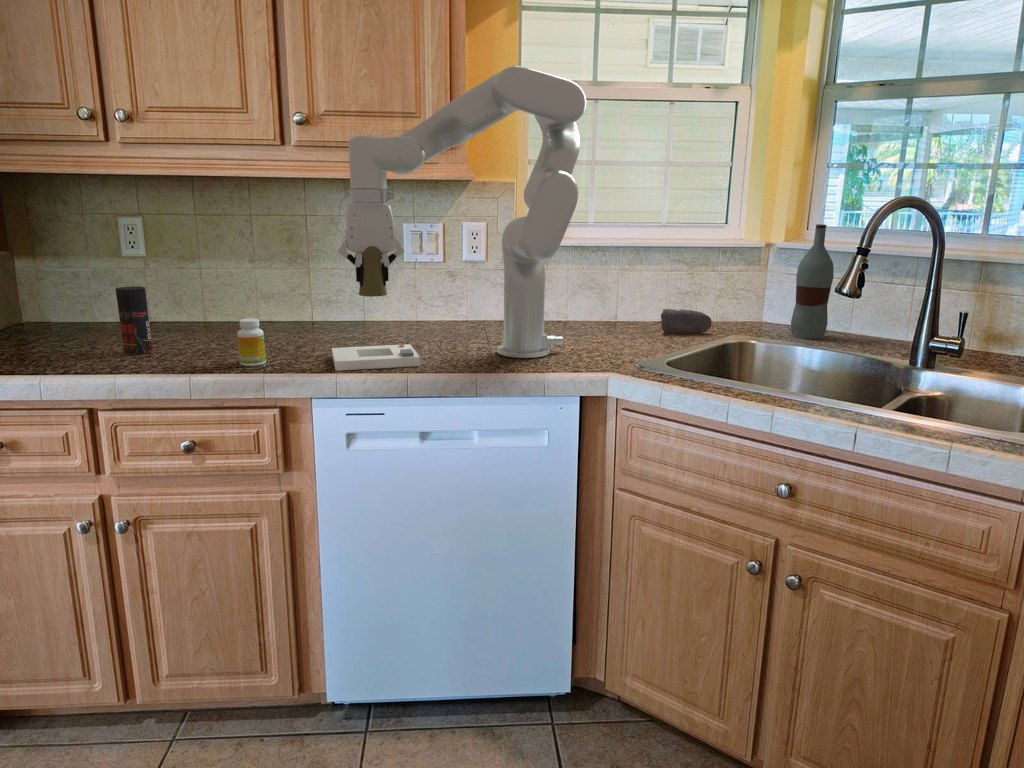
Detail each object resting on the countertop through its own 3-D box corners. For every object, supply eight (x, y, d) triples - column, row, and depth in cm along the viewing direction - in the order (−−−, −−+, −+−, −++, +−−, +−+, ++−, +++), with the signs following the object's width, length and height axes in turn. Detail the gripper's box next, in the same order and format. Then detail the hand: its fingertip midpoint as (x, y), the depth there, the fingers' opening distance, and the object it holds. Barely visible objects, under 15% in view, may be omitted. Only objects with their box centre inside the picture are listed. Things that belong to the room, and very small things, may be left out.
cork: (374, 292, 155) (372, 242, 152) (392, 294, 152) (391, 243, 149) (353, 294, 151) (350, 243, 148) (371, 297, 147) (369, 244, 144)
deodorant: (125, 350, 162) (116, 287, 158) (153, 349, 165) (146, 286, 161) (123, 356, 157) (113, 290, 153) (152, 354, 159) (144, 289, 155)
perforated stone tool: (707, 332, 195) (709, 307, 193) (714, 335, 189) (716, 310, 188) (655, 332, 193) (657, 307, 192) (660, 336, 188) (662, 310, 187)
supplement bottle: (266, 365, 150) (262, 321, 147) (239, 367, 148) (235, 322, 146) (265, 360, 155) (262, 317, 152) (240, 361, 153) (236, 318, 150)
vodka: (833, 339, 186) (848, 225, 179) (806, 341, 183) (820, 225, 176) (808, 332, 195) (822, 223, 187) (781, 334, 192) (794, 223, 184)
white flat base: (410, 352, 164) (409, 340, 163) (420, 365, 151) (419, 353, 150) (332, 356, 159) (331, 344, 158) (335, 370, 146) (334, 357, 145)
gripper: (406, 198, 152) (408, 282, 157) (327, 197, 147) (332, 283, 152) (411, 198, 145) (413, 286, 150) (329, 197, 140) (334, 288, 145)
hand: (372, 284), depth 151 cm, fingers closed on cork, 4 cm apart
